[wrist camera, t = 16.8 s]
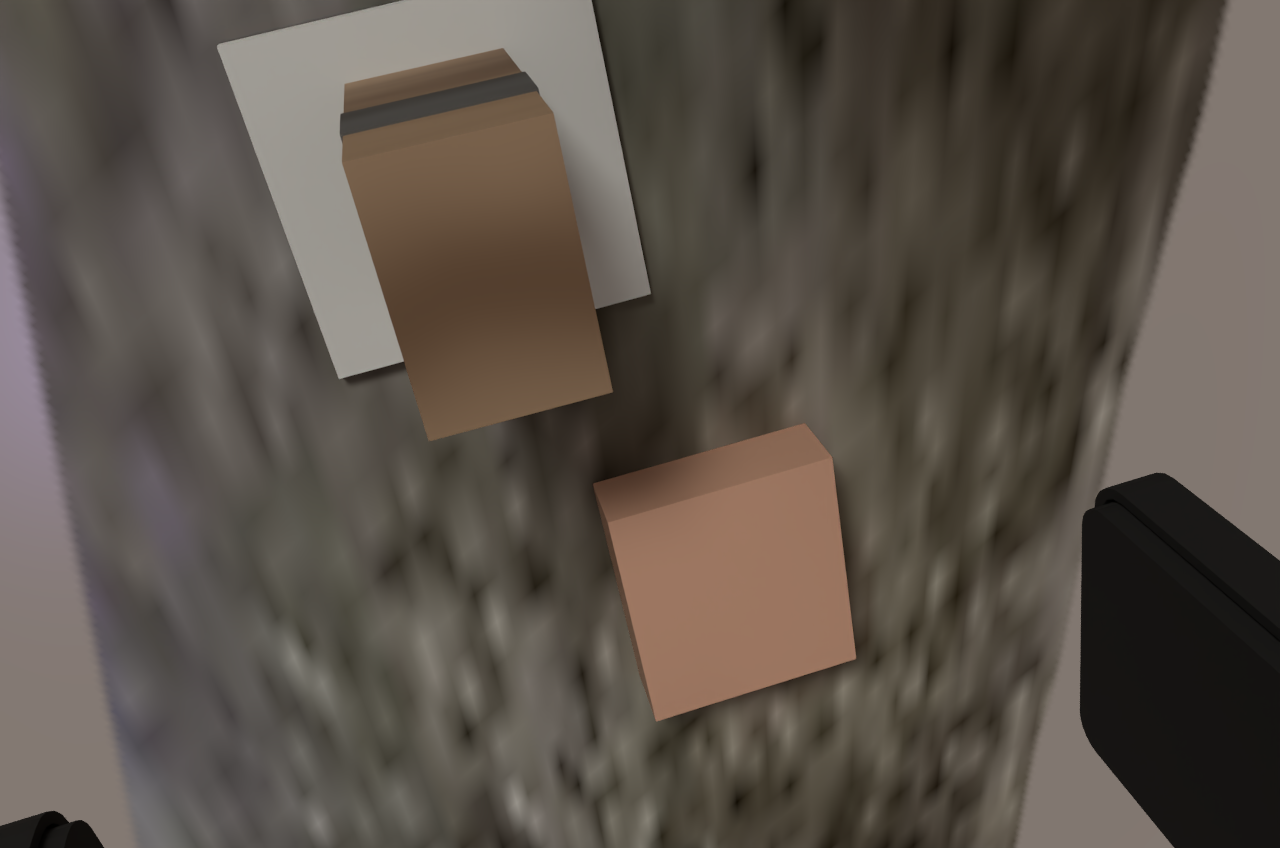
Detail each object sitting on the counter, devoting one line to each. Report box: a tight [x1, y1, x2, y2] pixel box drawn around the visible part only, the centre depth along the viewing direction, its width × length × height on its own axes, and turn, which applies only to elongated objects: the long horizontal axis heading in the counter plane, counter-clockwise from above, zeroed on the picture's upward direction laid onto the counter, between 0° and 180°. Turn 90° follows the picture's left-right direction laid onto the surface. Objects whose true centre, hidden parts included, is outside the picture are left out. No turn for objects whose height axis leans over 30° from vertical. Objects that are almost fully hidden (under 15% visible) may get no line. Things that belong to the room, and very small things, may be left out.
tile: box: [593, 423, 856, 721], centre depth 36 cm, size 3×7×8 cm
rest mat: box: [217, 0, 651, 379], centre depth 29 cm, size 9×9×1 cm
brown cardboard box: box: [340, 48, 613, 441], centre depth 26 cm, size 6×4×8 cm
